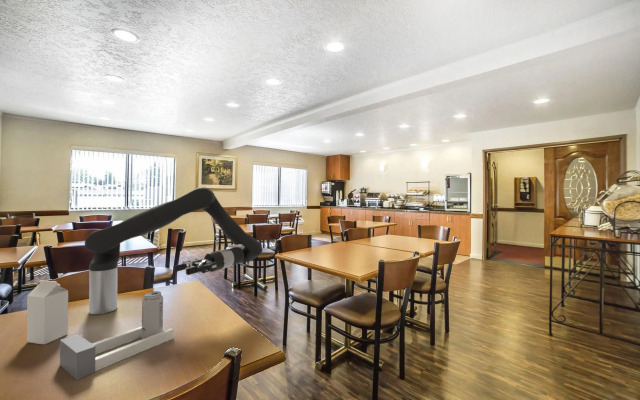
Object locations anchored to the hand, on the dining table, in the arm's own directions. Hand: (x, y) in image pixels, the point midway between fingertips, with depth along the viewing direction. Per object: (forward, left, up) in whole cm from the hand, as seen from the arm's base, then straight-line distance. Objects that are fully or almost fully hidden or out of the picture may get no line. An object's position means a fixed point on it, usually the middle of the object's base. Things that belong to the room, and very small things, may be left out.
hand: (180, 270), depth 103 cm
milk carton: (-28, -28, -21) cm, 45 cm away
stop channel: (0, -18, -21) cm, 28 cm away
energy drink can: (0, -9, -21) cm, 23 cm away
